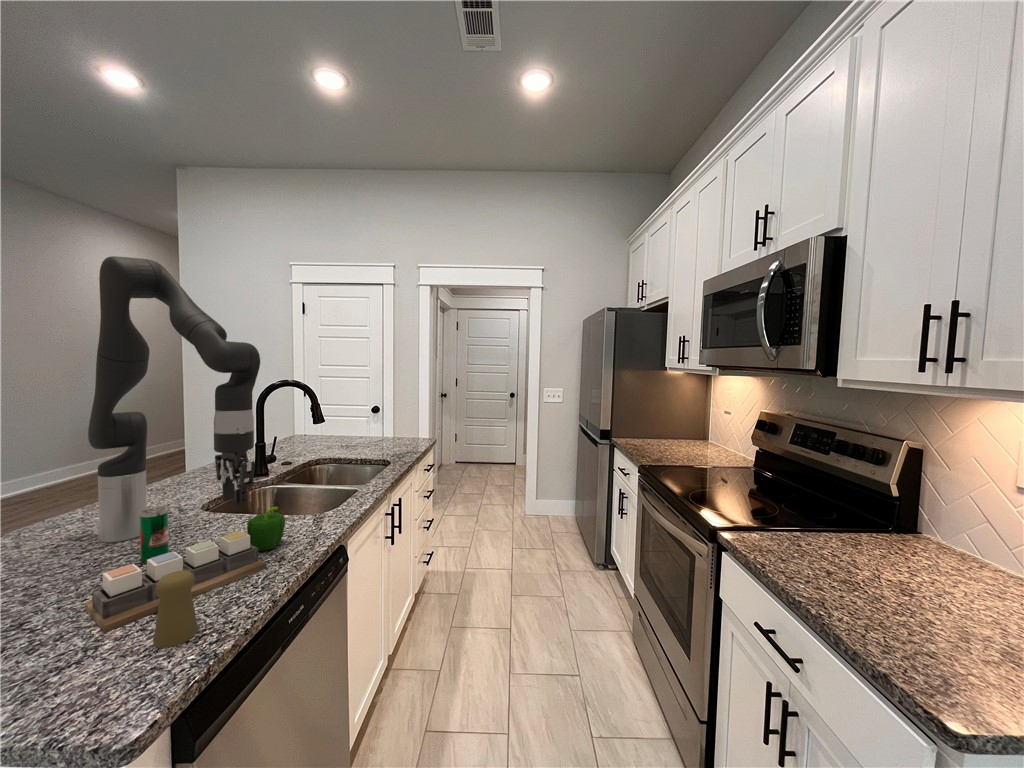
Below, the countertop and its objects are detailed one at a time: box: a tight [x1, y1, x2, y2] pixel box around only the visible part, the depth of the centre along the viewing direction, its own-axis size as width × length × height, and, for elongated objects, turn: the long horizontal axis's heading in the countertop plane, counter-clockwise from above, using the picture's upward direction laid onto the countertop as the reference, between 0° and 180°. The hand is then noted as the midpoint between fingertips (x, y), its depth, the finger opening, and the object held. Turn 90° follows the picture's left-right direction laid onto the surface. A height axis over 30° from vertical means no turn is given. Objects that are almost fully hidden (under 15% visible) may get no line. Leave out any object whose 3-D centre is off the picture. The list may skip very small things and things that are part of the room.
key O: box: [102, 563, 143, 597], centre depth 76 cm, size 4×4×3 cm
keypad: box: [84, 544, 267, 633], centre depth 84 cm, size 12×27×4 cm, turn 148°
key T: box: [146, 551, 184, 581], centre depth 81 cm, size 4×4×3 cm
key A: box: [185, 540, 220, 567], centre depth 87 cm, size 4×4×3 cm
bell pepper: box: [246, 506, 286, 552], centre depth 103 cm, size 8×8×10 cm
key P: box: [219, 530, 250, 555], centre depth 92 cm, size 4×4×3 cm
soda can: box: [139, 505, 170, 564], centre depth 95 cm, size 5×5×12 cm
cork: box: [152, 570, 199, 649], centre depth 69 cm, size 6×6×11 cm
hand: (234, 502), depth 92 cm, fingers open, 5 cm apart
